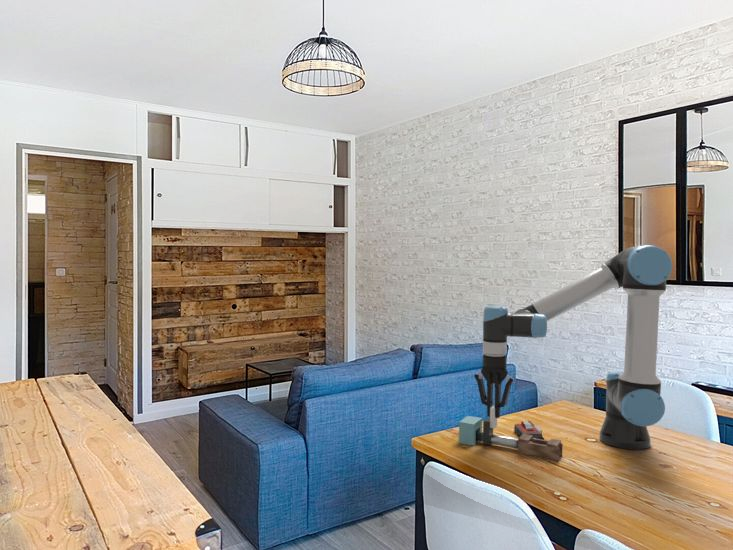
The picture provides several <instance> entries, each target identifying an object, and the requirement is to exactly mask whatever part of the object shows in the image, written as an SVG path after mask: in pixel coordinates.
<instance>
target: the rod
mask: <svg viewBox="0 0 733 550" xmlns="http://www.w3.org/2000/svg"><path fill="white" fill-rule="evenodd" d="M518 439H519V438H516V437H510V436H504V435H499V434H495V433H494V428H490V417H487V418H485V419H483V420H482V432H478V431H476V441H479V443H482V445H487V446H490V445H496V446H501V447H505V448H506V447H507V448H512V449H517V450H518ZM530 442H531V443H533V442H532V441H530Z"/></svg>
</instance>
